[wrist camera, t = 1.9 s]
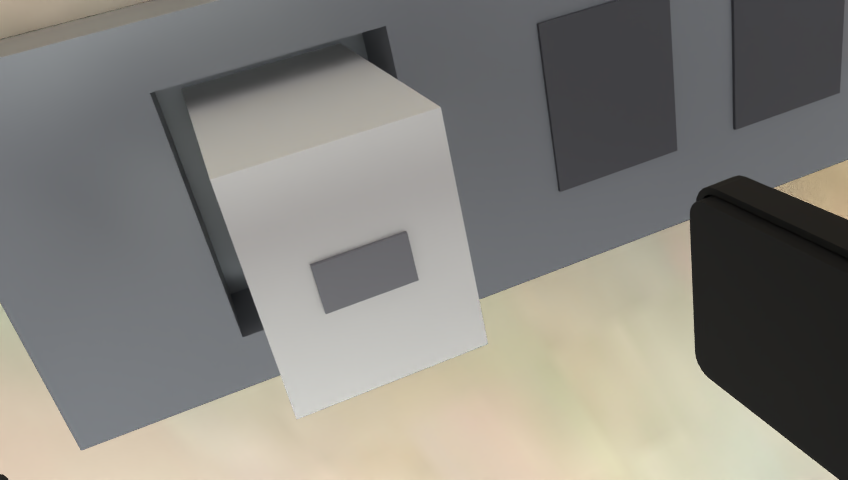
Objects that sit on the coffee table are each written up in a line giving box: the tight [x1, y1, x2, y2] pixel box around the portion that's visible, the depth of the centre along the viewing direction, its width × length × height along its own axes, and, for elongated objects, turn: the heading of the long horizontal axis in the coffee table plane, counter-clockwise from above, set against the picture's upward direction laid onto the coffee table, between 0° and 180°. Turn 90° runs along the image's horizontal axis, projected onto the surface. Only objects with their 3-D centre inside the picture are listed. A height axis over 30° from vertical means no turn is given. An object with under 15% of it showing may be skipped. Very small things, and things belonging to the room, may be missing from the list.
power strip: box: [0, 0, 848, 450], centre depth 20 cm, size 26×9×4 cm, turn 102°
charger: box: [182, 43, 488, 419], centre depth 17 cm, size 4×5×7 cm
